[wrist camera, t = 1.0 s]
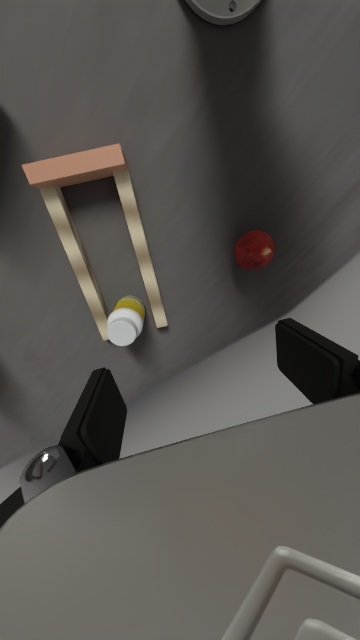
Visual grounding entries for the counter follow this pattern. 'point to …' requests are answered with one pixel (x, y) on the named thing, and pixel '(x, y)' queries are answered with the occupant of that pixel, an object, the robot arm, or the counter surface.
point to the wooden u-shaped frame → (49, 182)
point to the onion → (254, 250)
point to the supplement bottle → (126, 321)
